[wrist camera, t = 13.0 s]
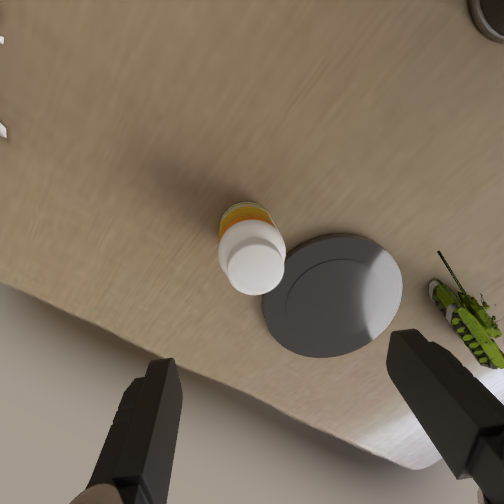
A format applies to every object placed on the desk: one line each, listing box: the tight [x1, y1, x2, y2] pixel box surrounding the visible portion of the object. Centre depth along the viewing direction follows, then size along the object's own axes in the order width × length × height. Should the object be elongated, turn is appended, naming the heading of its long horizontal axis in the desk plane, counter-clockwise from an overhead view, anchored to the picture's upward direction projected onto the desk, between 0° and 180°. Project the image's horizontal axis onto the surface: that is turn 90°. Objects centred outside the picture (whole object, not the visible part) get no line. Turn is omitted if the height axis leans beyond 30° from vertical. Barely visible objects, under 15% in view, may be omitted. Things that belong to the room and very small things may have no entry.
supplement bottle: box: [218, 202, 286, 295], centre depth 23 cm, size 5×5×10 cm
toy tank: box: [429, 251, 504, 369], centre depth 30 cm, size 7×19×10 cm
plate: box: [262, 234, 403, 358], centre depth 31 cm, size 16×16×1 cm
